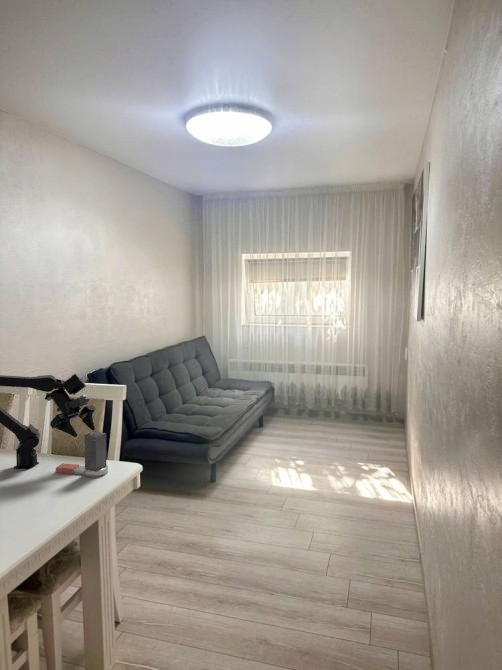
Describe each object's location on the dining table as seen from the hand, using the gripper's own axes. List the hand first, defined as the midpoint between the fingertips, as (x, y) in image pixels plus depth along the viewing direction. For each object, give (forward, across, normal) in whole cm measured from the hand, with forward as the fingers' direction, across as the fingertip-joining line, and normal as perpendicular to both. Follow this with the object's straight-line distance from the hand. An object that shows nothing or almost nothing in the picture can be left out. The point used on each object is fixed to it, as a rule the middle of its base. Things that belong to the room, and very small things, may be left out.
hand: (85, 433), depth 169 cm
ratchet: (+11, -4, +8) cm, 14 cm away
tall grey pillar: (+13, -3, +3) cm, 14 cm away
